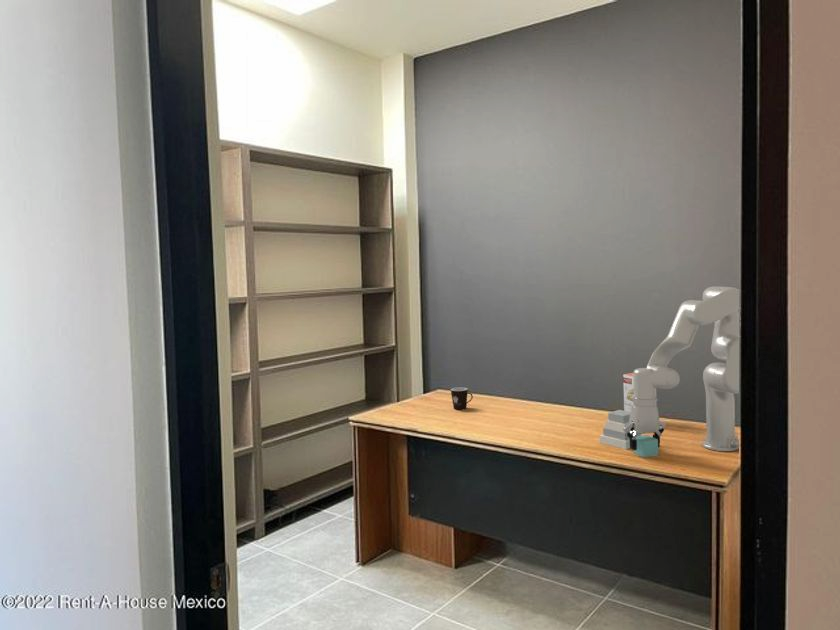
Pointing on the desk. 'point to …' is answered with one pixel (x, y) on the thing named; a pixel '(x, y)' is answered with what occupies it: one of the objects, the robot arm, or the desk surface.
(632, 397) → the cracker box
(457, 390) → the coffee mug
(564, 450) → the desk surface
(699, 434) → the desk surface
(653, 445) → the small aqua cube
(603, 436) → the tower
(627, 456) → the desk surface
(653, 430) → the robot arm
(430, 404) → the desk surface
